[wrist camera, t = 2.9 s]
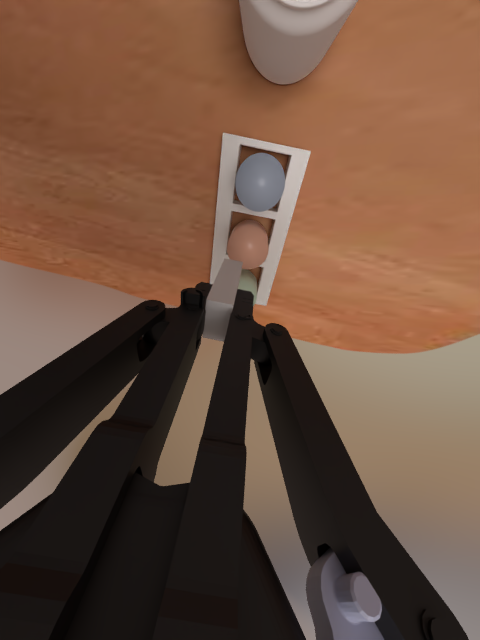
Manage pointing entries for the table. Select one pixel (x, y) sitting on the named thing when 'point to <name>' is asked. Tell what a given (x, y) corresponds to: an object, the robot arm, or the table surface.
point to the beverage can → (291, 34)
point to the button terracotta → (248, 244)
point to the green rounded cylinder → (248, 283)
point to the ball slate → (260, 182)
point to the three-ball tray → (279, 214)
